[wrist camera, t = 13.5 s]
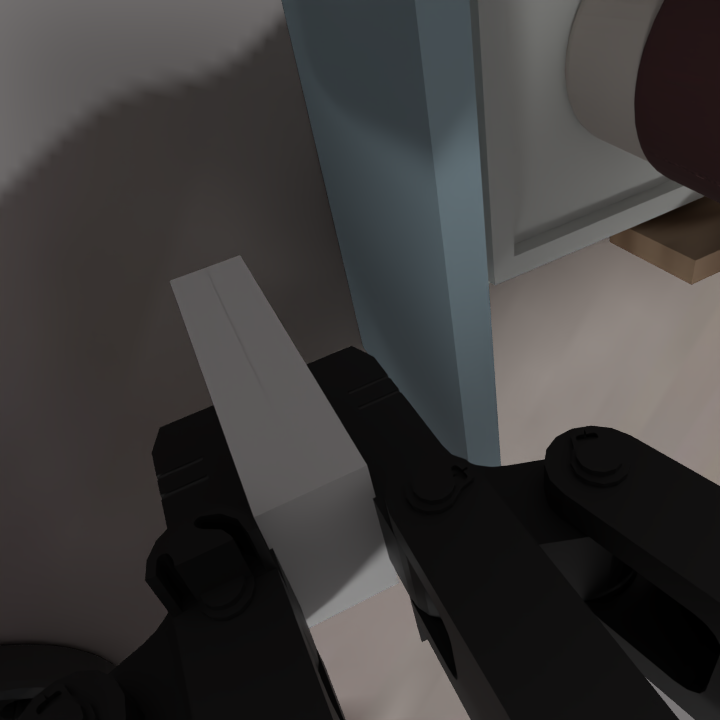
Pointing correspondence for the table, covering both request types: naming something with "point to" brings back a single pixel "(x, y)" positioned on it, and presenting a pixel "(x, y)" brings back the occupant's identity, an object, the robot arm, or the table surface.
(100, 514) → the table surface
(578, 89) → the coffee cup
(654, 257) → the brown wooden frame
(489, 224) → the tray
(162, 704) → the robot arm
